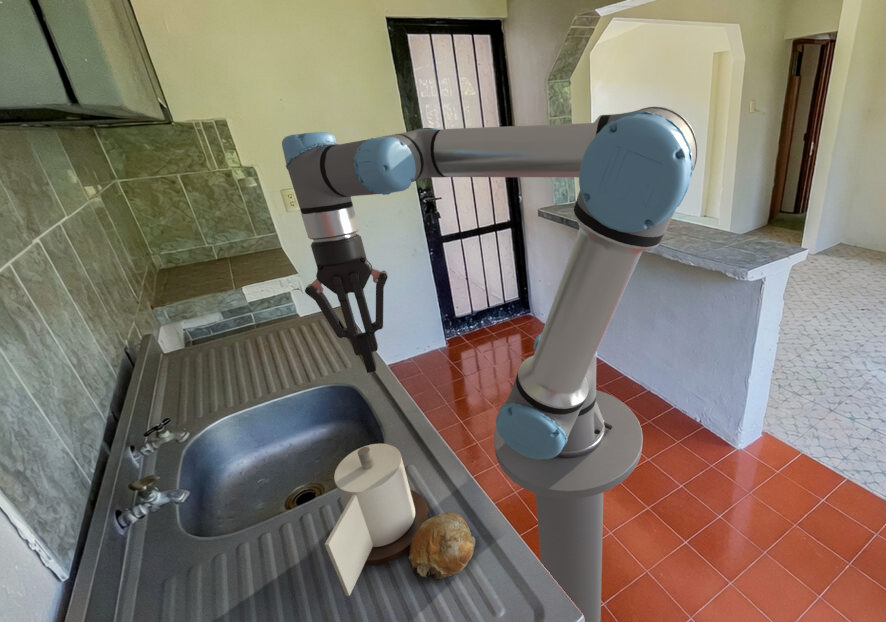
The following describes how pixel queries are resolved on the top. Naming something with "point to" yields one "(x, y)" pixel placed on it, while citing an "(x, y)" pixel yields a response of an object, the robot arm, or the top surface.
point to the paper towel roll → (368, 510)
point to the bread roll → (441, 546)
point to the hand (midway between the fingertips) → (371, 368)
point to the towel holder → (403, 543)
